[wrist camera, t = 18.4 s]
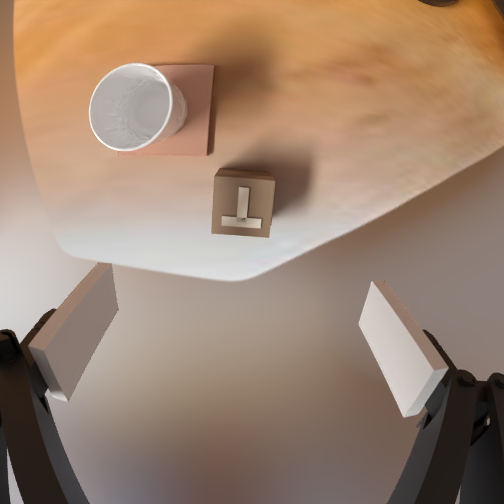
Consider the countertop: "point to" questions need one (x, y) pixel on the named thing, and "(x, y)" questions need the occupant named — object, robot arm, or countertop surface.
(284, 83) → the countertop surface
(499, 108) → the countertop surface
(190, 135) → the coaster
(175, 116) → the white cup
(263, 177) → the letter block
